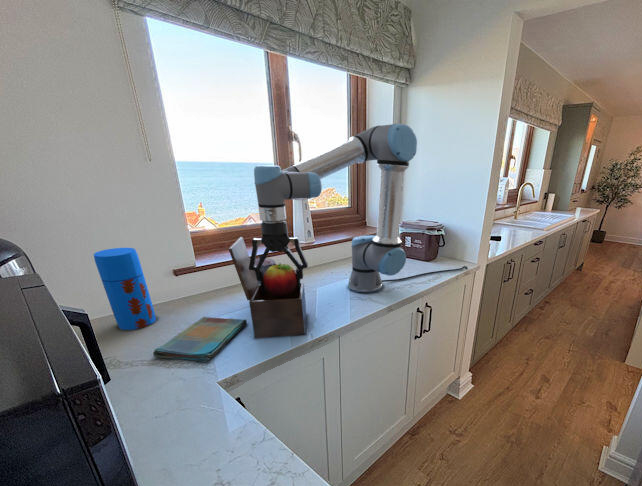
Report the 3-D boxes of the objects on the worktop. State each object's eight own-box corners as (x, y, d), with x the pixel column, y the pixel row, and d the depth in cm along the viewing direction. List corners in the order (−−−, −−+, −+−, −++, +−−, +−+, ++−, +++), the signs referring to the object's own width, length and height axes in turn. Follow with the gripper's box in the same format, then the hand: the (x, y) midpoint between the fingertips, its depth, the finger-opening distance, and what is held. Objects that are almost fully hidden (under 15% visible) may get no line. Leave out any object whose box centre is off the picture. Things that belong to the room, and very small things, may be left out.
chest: (306, 315, 119) (303, 282, 114) (304, 334, 106) (301, 299, 101) (262, 317, 117) (257, 284, 112) (254, 338, 104) (249, 301, 98)
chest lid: (242, 236, 104) (239, 237, 104) (231, 248, 91) (228, 248, 91) (258, 283, 111) (256, 283, 111) (250, 300, 98) (247, 300, 98)
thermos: (117, 321, 112) (92, 250, 102) (154, 312, 118) (134, 245, 108) (119, 333, 104) (93, 258, 94) (158, 324, 111) (137, 253, 100)
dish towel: (151, 358, 92) (149, 350, 91) (201, 320, 113) (200, 314, 112) (209, 362, 91) (207, 355, 90) (248, 323, 112) (247, 317, 111)
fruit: (284, 284, 114) (281, 257, 110) (305, 291, 108) (303, 262, 104) (258, 294, 106) (253, 264, 101) (279, 302, 100) (275, 271, 96)
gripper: (229, 223, 92) (242, 295, 101) (312, 222, 96) (317, 291, 105) (235, 219, 99) (247, 286, 108) (312, 218, 103) (317, 283, 111)
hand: (281, 288), depth 106 cm, fingers closed on fruit, 10 cm apart
